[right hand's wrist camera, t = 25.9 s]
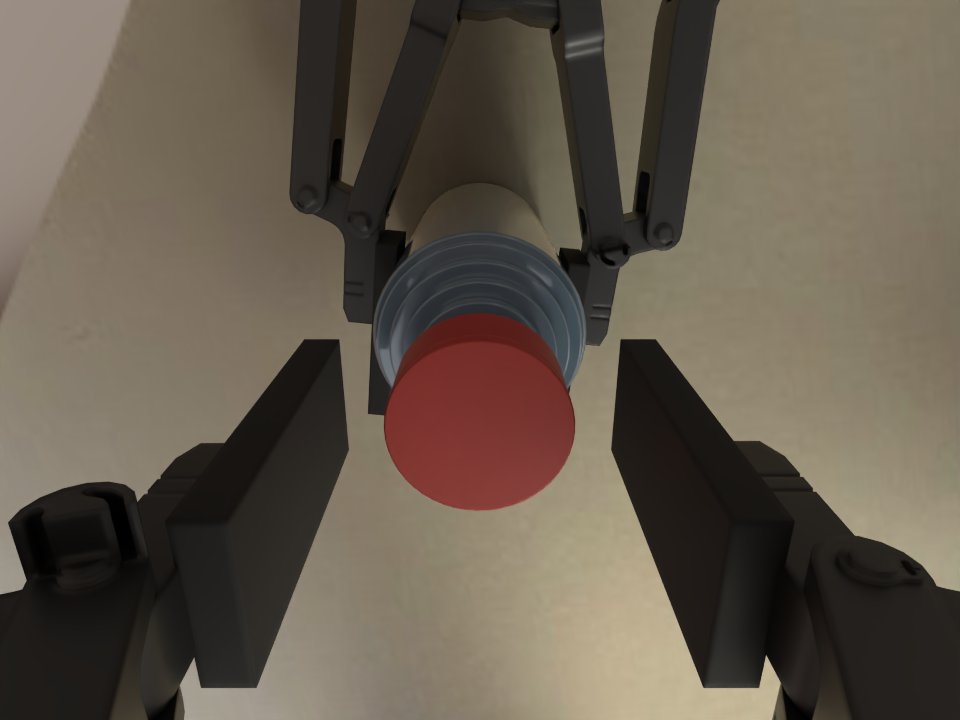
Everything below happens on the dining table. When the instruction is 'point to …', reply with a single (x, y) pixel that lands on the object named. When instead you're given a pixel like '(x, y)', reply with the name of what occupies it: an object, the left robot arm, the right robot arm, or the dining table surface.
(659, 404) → the right robot arm
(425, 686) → the dining table surface
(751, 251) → the dining table surface
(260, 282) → the dining table surface
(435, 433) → the cap
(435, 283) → the bottle
